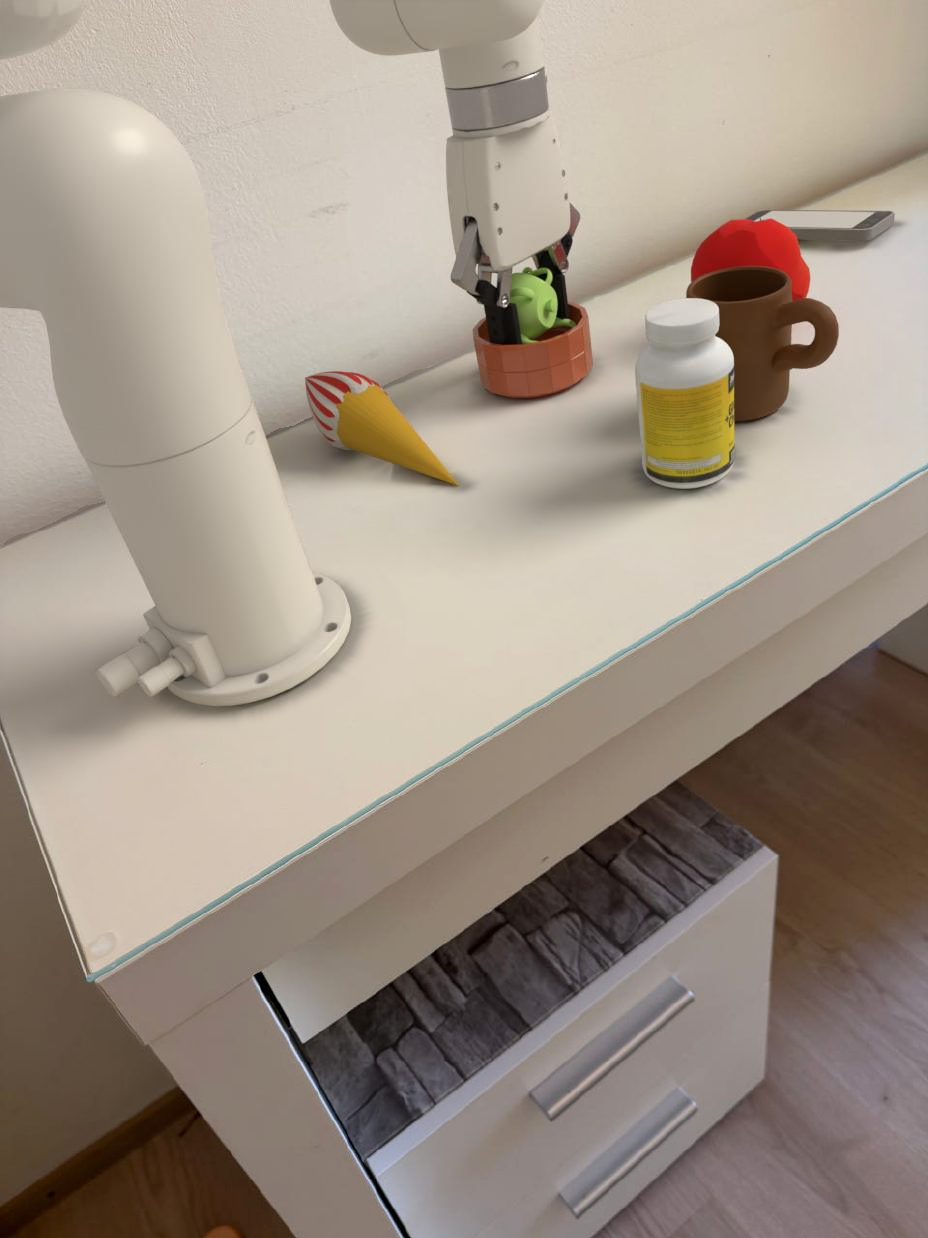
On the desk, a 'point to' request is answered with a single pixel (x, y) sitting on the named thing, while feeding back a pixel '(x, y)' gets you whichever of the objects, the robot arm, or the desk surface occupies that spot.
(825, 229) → the smartphone
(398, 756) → the desk surface
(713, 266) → the tomato
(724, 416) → the pill bottle
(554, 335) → the bowl
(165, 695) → the desk surface
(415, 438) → the ice cream cone
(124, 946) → the desk surface
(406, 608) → the desk surface
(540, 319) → the multi-spout teapot
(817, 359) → the mug
